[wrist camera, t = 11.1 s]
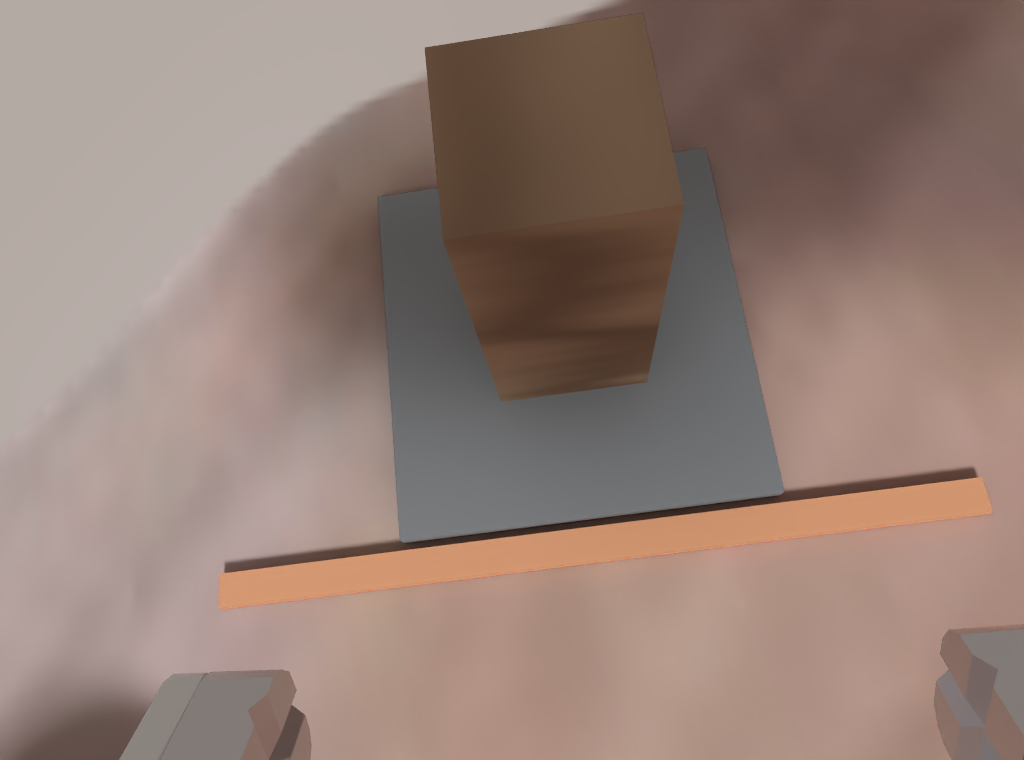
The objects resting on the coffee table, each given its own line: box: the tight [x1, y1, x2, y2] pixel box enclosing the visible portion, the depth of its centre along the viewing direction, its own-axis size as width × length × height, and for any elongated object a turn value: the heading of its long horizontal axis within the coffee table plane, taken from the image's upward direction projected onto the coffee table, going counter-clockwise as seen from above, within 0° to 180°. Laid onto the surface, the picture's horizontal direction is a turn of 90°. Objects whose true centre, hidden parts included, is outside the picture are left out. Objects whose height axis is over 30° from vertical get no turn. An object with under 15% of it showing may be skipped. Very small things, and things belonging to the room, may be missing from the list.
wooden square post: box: [425, 13, 684, 402], centre depth 20 cm, size 4×4×10 cm
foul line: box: [219, 477, 993, 609], centre depth 23 cm, size 22×1×1 cm, turn 96°
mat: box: [378, 148, 784, 543], centre depth 25 cm, size 11×12×1 cm
